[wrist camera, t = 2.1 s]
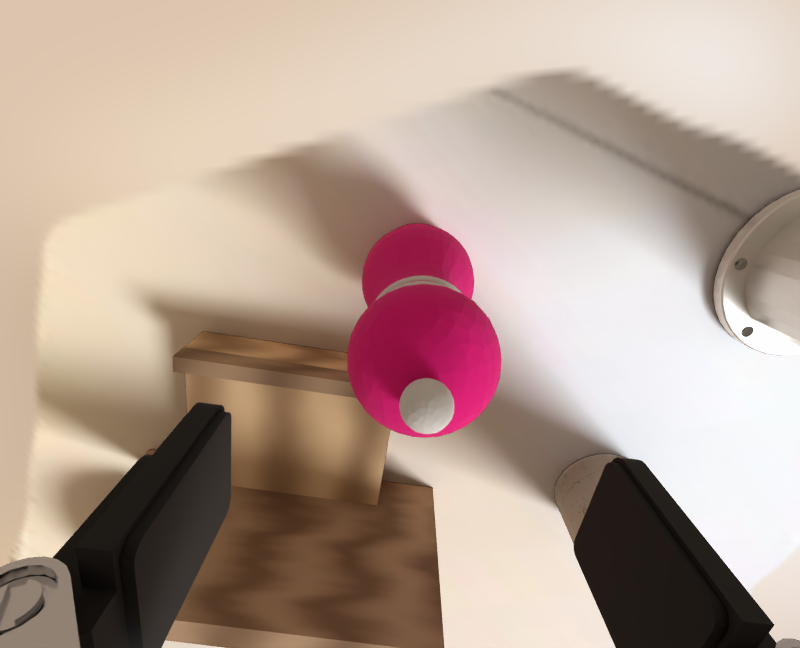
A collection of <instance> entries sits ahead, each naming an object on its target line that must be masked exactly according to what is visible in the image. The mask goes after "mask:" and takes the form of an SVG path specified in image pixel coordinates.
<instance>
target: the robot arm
mask: <svg viewBox="0 0 800 648" xmlns="http://www.w3.org/2000/svg"><path fill="white" fill-rule="evenodd" d="M713 296H714V304H715V310H716V313H717V315H718V318H719V321H720V322H721V324H722V325H723V327H724V328H725V330H726V331H727V332H728V333H729V334H730V335H731V336H732V337H734V338H735V339H736V340H737V341H739V342H741V343H743V344H744V345H746V346H748V347H750V348H752V349H754V350H757V351H760V352H762V353H766V354H773V355H799V354H800V189H799V190H796V191H794V192H791V193H789V194H786V195H784V196H783V197H781V198H779V199H778V200H776V201H774V202H772V203H771V204H769V205H768V206H766V207H765V208H764V209H762V210H761V211H760V212H759V213H757V214H756V215H755V216H754V217H752V218H751V219H750V220H749V221H748V223H747V224H746V225H745V226H744V227H743V228H742V229H741V230H740V231H739V232H738V233H737V235H736V236H735V238H734V239H733V240H732V242H731V243H730V245H729V246H728V247H727V249H726V251H725V253H724V255H723V258H722V260H721V262H720V264H719V267H718V270H717V274H716V277H715V282H714V293H713ZM231 419H232V418H231V413H230V412H225V409H224V406H222V405H217V404H210V403H202V402H198V403H196V404H195V405H194V406H193V407H192V409H191V410H190V411H189V412H188V413H187V415H186V416H185V417H184V418H183V419H182V420H181V422H180V423H179V424H178V425H177V426H176V428H175V429H174V430H173V431H172V432H171V434H170V435H169V436H168V437H167V438H166V440H165V441H164V442H163V443H162V444H161V445H160V447H159V448H158V449H157V450H156V451H155V453H154V454H153V455H151V454H147V455H145V456H143V457H141V458H140V459H139V460H138V461H137V462H136V463H135V465H134V466H133V467H132V468H131V469H130V470H129V471H128V473H127V474H126V475H125V476H124V477H123V478H122V479H121V481H120V482H119V483H118V484H117V485H116V486H115V487H114V489H113V490H112V491H111V492H110V493H109V494H108V496H107V497H106V498H105V499H104V500H103V501H102V502H101V504H100V505H99V506H98V507H97V508H96V509H95V510H94V512H93V513H92V514H91V515H90V516H89V517H88V518H87V520H86V521H85V522H84V523H83V524H82V525H81V526H80V528H79V529H78V530H77V531H76V532H75V533H74V534H73V536H72V537H71V538H70V539H69V540H68V541H67V542H66V544H65V545H64V546H63V547H62V548H61V549H60V550H59V552H58V553H57V554H56V555H55V556H54V557H53V558H49V557H33V558H26V559H22V560H19V561H15V562H11V563H9V564H7V565H4V566H2V567H0V648H161V647H162V645H163V643H164V641H165V639H166V637H167V635H168V633H169V631H170V629H171V627H172V625H173V623H174V621H175V619H176V617H177V615H178V613H179V611H180V609H181V607H182V605H183V603H184V600H185V598H186V596H187V594H188V592H189V590H190V588H191V586H192V584H193V582H194V580H195V578H196V576H197V574H198V572H199V570H200V568H201V566H202V564H203V562H204V560H205V558H206V556H207V554H208V552H209V550H210V548H211V545H212V543H213V541H214V539H215V537H216V535H217V533H218V531H219V529H220V527H221V525H222V523H223V521H224V519H225V517H226V515H227V512H228V509H229V506H230V501H231ZM574 552H575V556H576V558H577V560H578V563H579V565H580V567H581V570H582V572H583V574H584V576H585V579H586V581H587V583H588V585H589V588H590V590H591V592H592V594H593V597H594V599H595V601H596V604H597V606H598V608H599V610H600V613H601V615H602V617H603V619H604V622H605V624H606V626H607V629H608V631H609V633H610V635H611V638H612V640H613V642H614V644H615V647H616V648H800V641H799V640H796V639H782V640H780V641H779V642H777V643H776V642H775V641H774V639H773V638H772V637H771V635H770V634H769V631H770V630H771V629H772V627H773V626H774V624H773V623H772V622H771V620H770V619H769V618H768V616H767V615H766V614H765V613H764V612H763V610H762V609H761V608H760V607H759V605H758V604H757V603H756V602H755V600H754V599H753V598H752V597H751V595H750V594H749V593H748V592H747V590H746V589H745V588H744V587H743V585H742V584H741V583H740V582H739V580H738V579H737V578H736V577H735V575H734V574H733V573H732V572H731V570H730V569H729V568H728V567H727V565H726V564H725V563H724V562H723V560H722V559H721V558H720V557H719V555H718V554H717V553H716V552H715V550H714V549H713V548H712V547H711V545H710V544H709V543H708V542H707V540H706V539H705V538H704V537H703V535H702V534H701V533H700V532H699V530H698V529H697V528H696V527H695V525H694V524H693V523H692V522H691V521H690V519H689V518H688V517H687V516H686V514H685V513H684V512H683V511H682V509H681V508H680V507H679V506H678V504H677V503H676V502H675V501H674V499H673V498H672V497H671V496H670V494H669V493H668V492H667V491H666V489H665V488H664V487H663V486H662V484H661V483H660V482H659V481H658V479H657V478H656V477H655V476H654V474H653V473H652V472H651V471H650V469H649V468H648V467H647V466H646V464H645V463H644V462H642V461H640V460H635V459H628V458H620V457H617V458H615V459H613V460H612V462H609V463H607V464H606V465H605V467H604V470H603V472H602V475H601V477H600V479H599V482H598V484H597V487H596V489H595V491H594V494H593V496H592V499H591V501H590V504H589V506H588V508H587V511H586V513H585V516H584V518H583V520H582V523H581V525H580V528H579V530H578V532H577V535H576V537H575V540H574Z"/></svg>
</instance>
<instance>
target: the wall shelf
mask: <svg viewBox="0 0 800 648" xmlns="http://www.w3.org/2000/svg"><path fill="white" fill-rule="evenodd" d="M173 372H180V373H185V381H186V407H187V413H188V412H189V411H190V410H191V409H192V407H193V406H194V405H195V404H196V403H198V402H202V403H210V404H217V405H222V406H224V409H225V412H230V413H231V418H232V419H231V501H230V506H229V509H228V512H227V515H226V517H225V519H224V521H223V523H222V525H221V527H220V529H219V531H218V533H217V535H216V537H215V539H214V541H213V543H212V545H211V548H210V550H209V552H208V554H207V556H206V558H205V560H204V562H203V564H202V566H201V568H200V570H199V572H198V574H197V576H196V578H195V580H194V582H193V584H192V586H191V588H190V590H189V592H188V594H187V596H186V598H185V600H184V603H183V605H182V607H181V609H180V611H179V613H178V615H177V617H176V619H175V621H174V623H173V625H172V627H171V629H170V631H169V633H168V635H167V637H166V639H165V640H168V641H176V642H184V643H192V644H201V645H209V646H217V647H226V648H444V638H443V624H442V611H441V597H440V583H439V569H438V555H437V542H436V528H435V514H434V500H433V488H431V487H423V486H416V485H409V484H401V483H394V482H387V481H381V480H382V474H383V469H384V463H385V457H386V452H387V446H388V440H389V434H390V429H388V428H386V427H384V426H383V425H381V424H379V423H378V422H376V421H375V420H374V419H373V418H372V417H371V416H370V415H369V414H368V413H367V412H366V411H365V410H364V408H363V407H362V405H361V404H360V402H359V401H358V399H357V398H356V396H355V394H354V391H353V389H352V386H351V384H350V379H349V374H348V369H347V353H345V352H338V351H332V350H325V349H318V348H311V347H305V346H298V345H291V344H284V343H278V342H271V341H264V340H257V339H251V338H244V337H237V336H230V335H224V334H217V333H210V332H202V333H200V334H199V335H198V336H197V337H196V338H194V339H193V340H192V341H191V342H190V343H188V344H187V345H186V346H185V347H184V348H182V349H181V350H180V351H179V352H178V353H176V354H175V355H174V356H173ZM155 451H156V450H153V449H149V451H148V452H147V453H146V454H145V455H147V454H151V455H153V454H154V453H155ZM145 455H144V456H145ZM65 544H66V543H65ZM65 544H64V545H65ZM58 552H59V551H58ZM58 552H57V553H58ZM57 553H56V554H57Z"/></svg>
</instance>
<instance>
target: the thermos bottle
mask: <svg viewBox="0 0 800 648" xmlns="http://www.w3.org/2000/svg"><path fill="white" fill-rule="evenodd" d="M617 457H620V458H623V457H621V456H617V455H612V454H598V455H592V456H588V457H585V458H583V459H580V460H578V461H576V462H575V463H573V464H572V465H570V466H569V467H568V468H567V469H566V470H564V471H563V473H562V474H561V475H560V477H559V479H558V481H557V483H556V486H555V491H554V492H555V500H556V503H557V506H558V508H559V511H560V513H561V515H562V518H563V520H564V522H565V525H566V527H567V529H568V532H569V534H570V536H571V539H572V541H573V543H574V540H575V537H576V535H577V532H578V530H579V528H580V525H581V523H582V520H583V518H584V516H585V513H586V511H587V508H588V506H589V504H590V501H591V499H592V496H593V494H594V491H595V489H596V487H597V484H598V482H599V479H600V477H601V475H602V472H603V470H604V467H605V465H606V464H607V463H609V462H612V460H613V459H615V458H617Z"/></svg>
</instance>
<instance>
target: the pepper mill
mask: <svg viewBox="0 0 800 648" xmlns="http://www.w3.org/2000/svg"><path fill="white" fill-rule="evenodd" d="M362 286H363V294H364V298H365V301H366V304H367V306H368V308H367V310H366V311H365V312H364V313H363V314H362V315H361V317H360V319H359V320H358V322H357V324H356V326H355V328H354V330H353V332H352V334H351V338H350V341H349V345H348V353H347V369H348V374H349V379H350V384H351V386H352V389H353V391H354V394H355V396H356V398H357V399H358V401H359V402H360V404H361V405H362V407H363V408H364V410H365V411H366V412H367V413H368V414H369V415H370V416H371V417H372V418H373V419H374V420H375V421H376V422H378V423H379V424H381V425H383V426H384V427H386V428H388V429H390V430H393V431H395V432H398V433H401V434H404V435H408V436H412V437H437V436H442V435H445V434H449V433H452V432H454V431H456V430H458V429H461V428H463V427H465V426H466V425H468V424H469V423H470V422H472V421H473V420H475V419H476V418H477V417H478V416H479V415H480V414H481V413H482V412H483V410H484V409H485V408H486V407H487V405H488V404H489V402H490V400H491V399H492V397H493V396H494V394H495V391H496V388H497V385H498V382H499V378H500V371H501V351H500V345H499V341H498V338H497V335H496V333H495V330H494V328H493V326H492V324H491V322H490V319H489V318H488V317H487V316H486V314H485V313H484V312H483V311H482V310H481V309H480V308H479V306H478V305H477V304H476V303H475V302H474V301H472V300H471V298H472V294H473V288H474V276H473V269H472V265H471V262H470V259H469V256H468V254H467V252H466V250H465V249H464V248H463V246H462V245H461V244H460V242H459V241H457V240H456V239H455V238H454V237H453V236H452V235H450V234H449V233H447V232H446V231H444V230H442V229H439V228H437V227H433V226H430V225H426V224H419V223H415V224H408V225H404V226H401V227H399V228H397V229H395V230H393V231H391V232H389V233H388V234H386V235H384V236H383V237H382V238H381V239H380V240H379V241H378V242H377V243H376V244H375V245H374V247H373V248H372V249H371V251H370V252H369V254H368V257H367V259H366V261H365V265H364V268H363V277H362Z"/></svg>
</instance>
